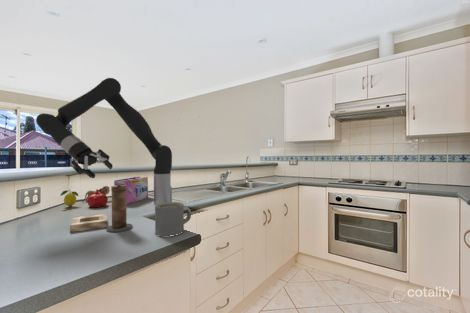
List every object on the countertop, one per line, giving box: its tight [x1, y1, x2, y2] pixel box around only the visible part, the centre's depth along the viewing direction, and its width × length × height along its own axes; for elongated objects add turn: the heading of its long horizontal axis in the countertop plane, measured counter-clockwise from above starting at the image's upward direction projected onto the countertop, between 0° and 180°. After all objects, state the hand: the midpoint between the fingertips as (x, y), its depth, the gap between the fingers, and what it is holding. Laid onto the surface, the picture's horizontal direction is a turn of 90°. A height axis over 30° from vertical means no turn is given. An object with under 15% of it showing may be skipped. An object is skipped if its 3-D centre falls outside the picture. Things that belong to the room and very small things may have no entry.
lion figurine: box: [81, 185, 111, 203], centre depth 144 cm, size 15×5×9 cm, turn 115°
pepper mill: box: [110, 182, 128, 229], centre depth 91 cm, size 5×5×17 cm
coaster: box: [105, 223, 133, 233], centre depth 91 cm, size 9×9×1 cm
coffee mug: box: [154, 201, 192, 237], centre depth 87 cm, size 13×10×10 cm
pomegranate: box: [86, 189, 109, 208], centre depth 130 cm, size 10×10×9 cm
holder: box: [69, 213, 108, 233], centre depth 95 cm, size 12×12×2 cm
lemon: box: [59, 190, 79, 208], centre depth 129 cm, size 7×6×10 cm
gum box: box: [113, 176, 149, 205], centre depth 147 cm, size 24×8×14 cm, turn 168°
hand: (103, 172), depth 102 cm, fingers open, 8 cm apart
